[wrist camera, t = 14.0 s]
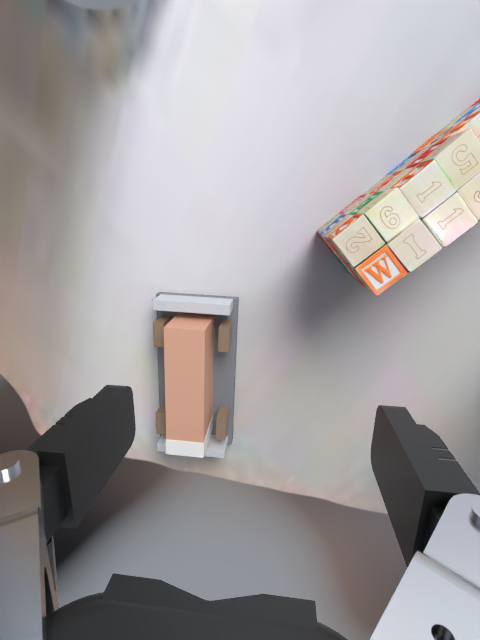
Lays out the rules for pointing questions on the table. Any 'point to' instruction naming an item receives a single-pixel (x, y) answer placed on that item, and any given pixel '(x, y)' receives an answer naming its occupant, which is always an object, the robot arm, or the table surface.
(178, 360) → the peach lotion tube
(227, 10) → the table surface
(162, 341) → the cradle jig
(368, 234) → the stack of blocks
